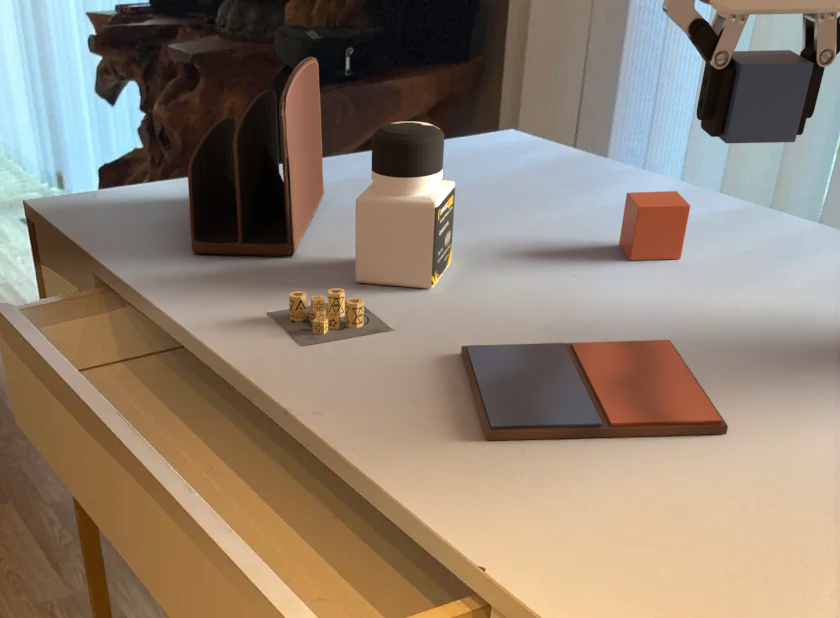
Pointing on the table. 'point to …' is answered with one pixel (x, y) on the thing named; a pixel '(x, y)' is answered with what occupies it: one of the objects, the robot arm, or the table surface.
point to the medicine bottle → (405, 209)
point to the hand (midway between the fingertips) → (750, 128)
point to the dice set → (327, 318)
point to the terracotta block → (654, 225)
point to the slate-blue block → (766, 96)
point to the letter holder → (260, 173)
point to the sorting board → (587, 391)
